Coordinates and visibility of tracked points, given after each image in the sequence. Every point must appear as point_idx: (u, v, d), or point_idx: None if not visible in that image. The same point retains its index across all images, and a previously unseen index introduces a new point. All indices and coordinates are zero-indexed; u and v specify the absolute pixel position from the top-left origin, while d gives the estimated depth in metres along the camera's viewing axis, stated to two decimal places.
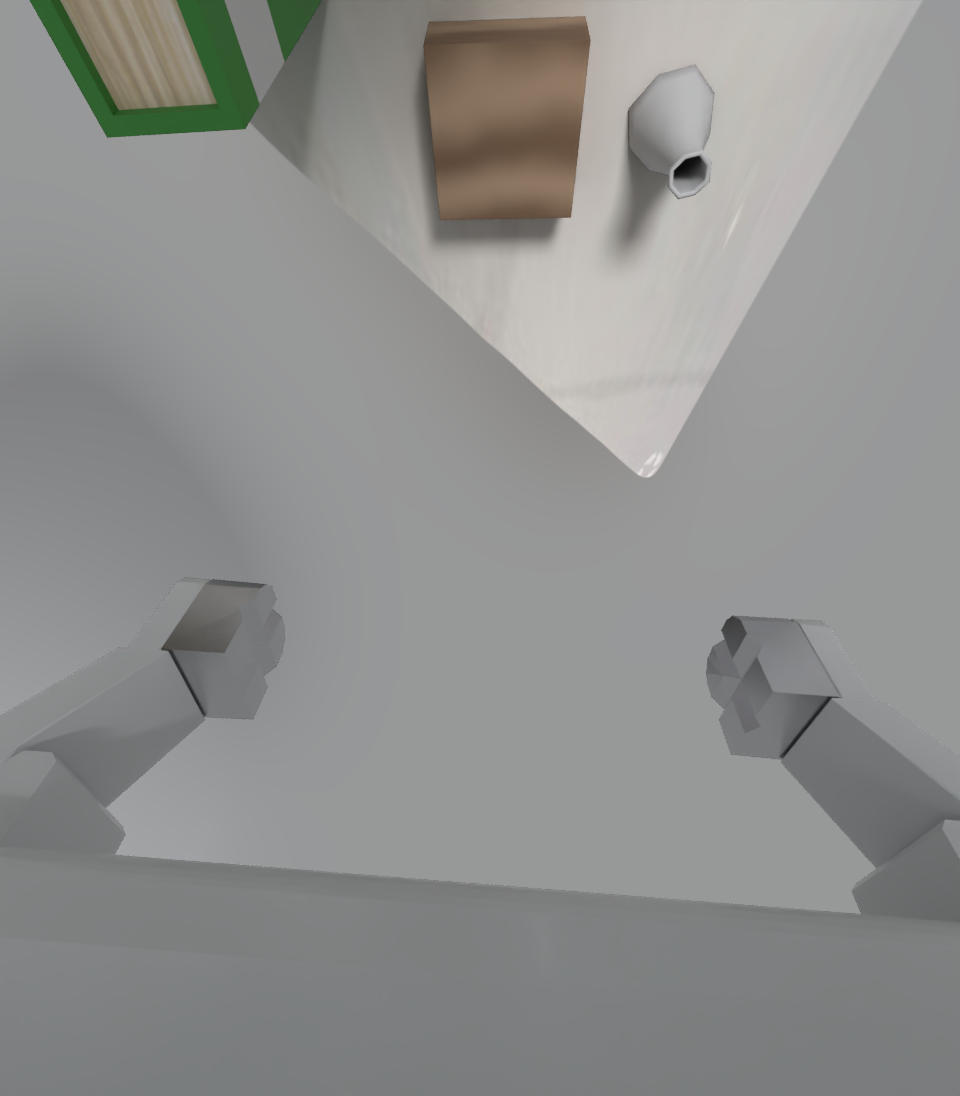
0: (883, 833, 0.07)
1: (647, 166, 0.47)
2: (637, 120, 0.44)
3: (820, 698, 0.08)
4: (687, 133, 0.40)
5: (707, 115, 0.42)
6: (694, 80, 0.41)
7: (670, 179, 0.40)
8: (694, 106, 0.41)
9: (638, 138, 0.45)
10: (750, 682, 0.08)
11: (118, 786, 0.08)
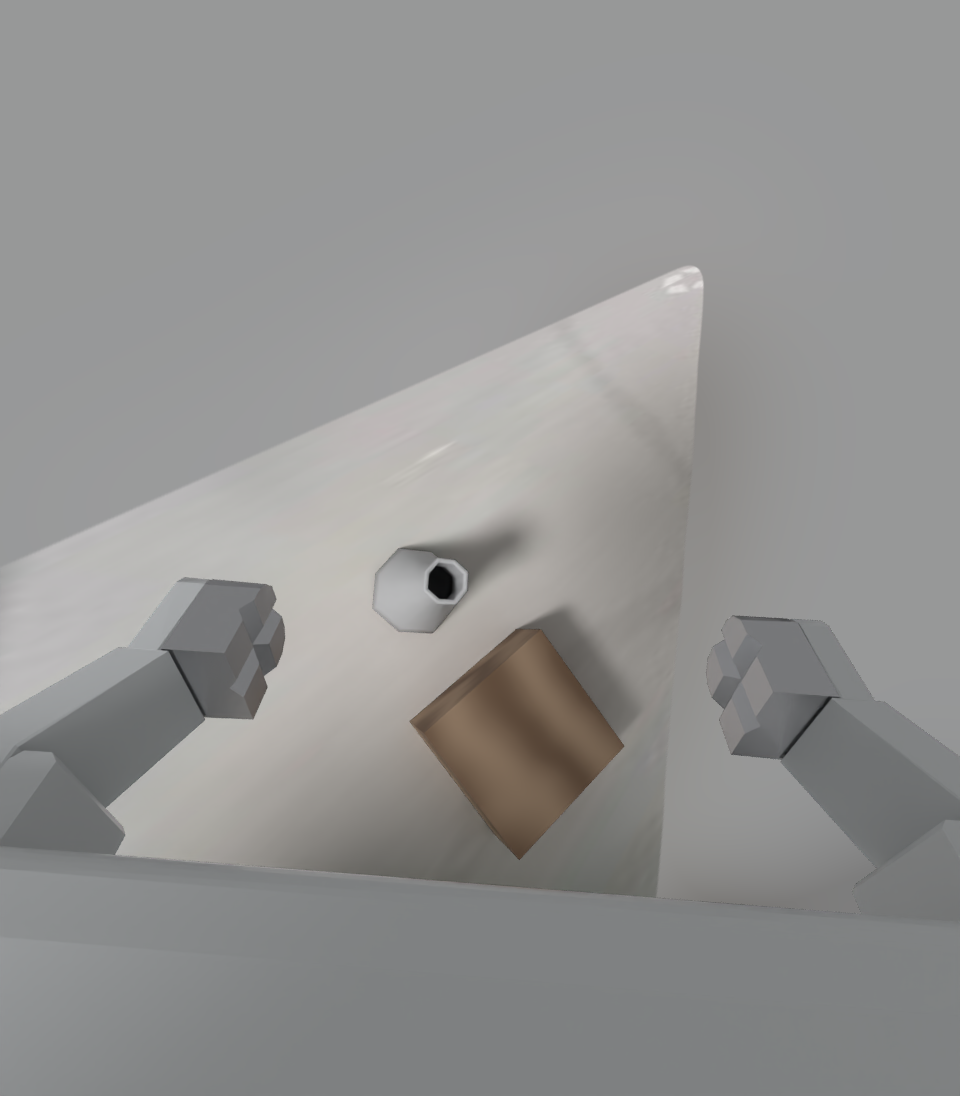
0: (883, 833, 0.07)
1: None
2: (436, 624, 0.42)
3: (820, 698, 0.08)
4: (418, 597, 0.37)
5: (392, 576, 0.40)
6: (381, 604, 0.41)
7: (461, 596, 0.35)
8: (396, 598, 0.39)
9: (445, 612, 0.43)
10: (750, 682, 0.08)
11: (118, 786, 0.08)
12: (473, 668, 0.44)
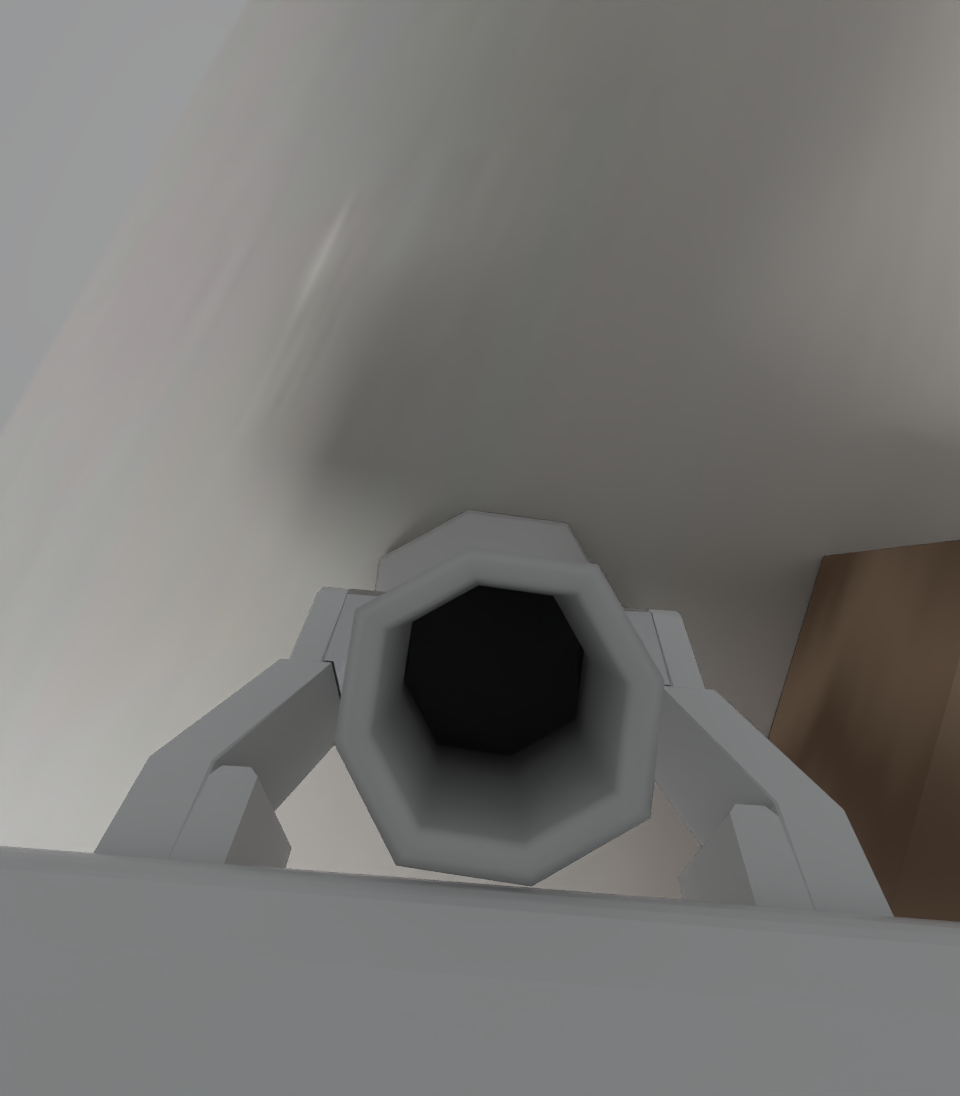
0: (709, 820, 0.07)
1: (576, 546, 0.14)
2: None
3: None
4: None
5: None
6: None
7: (648, 741, 0.05)
8: None
9: None
10: None
11: (277, 798, 0.08)
12: (780, 741, 0.14)
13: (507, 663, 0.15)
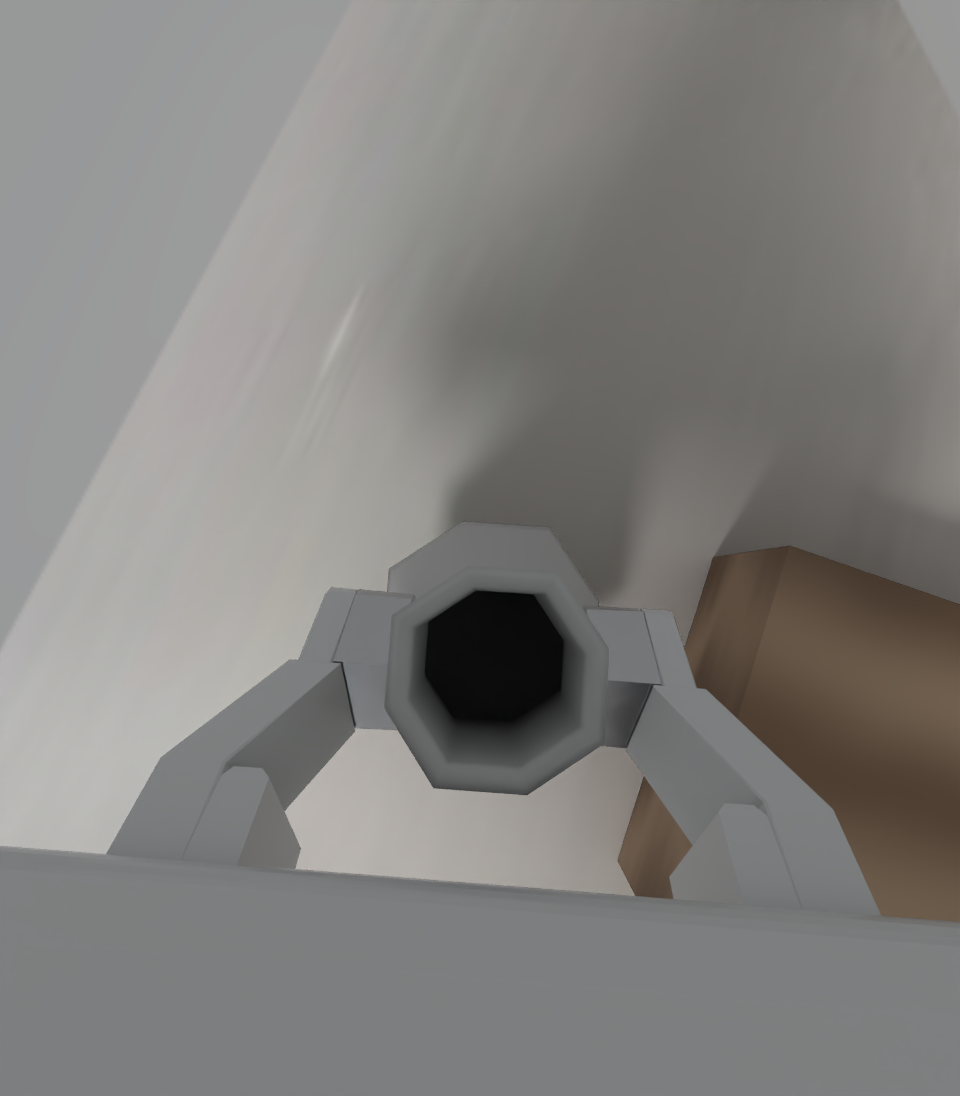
0: (700, 819, 0.07)
1: (558, 547, 0.16)
2: None
3: (644, 685, 0.08)
4: None
5: None
6: None
7: (600, 691, 0.07)
8: None
9: None
10: None
11: (287, 799, 0.08)
12: None
13: (507, 652, 0.17)
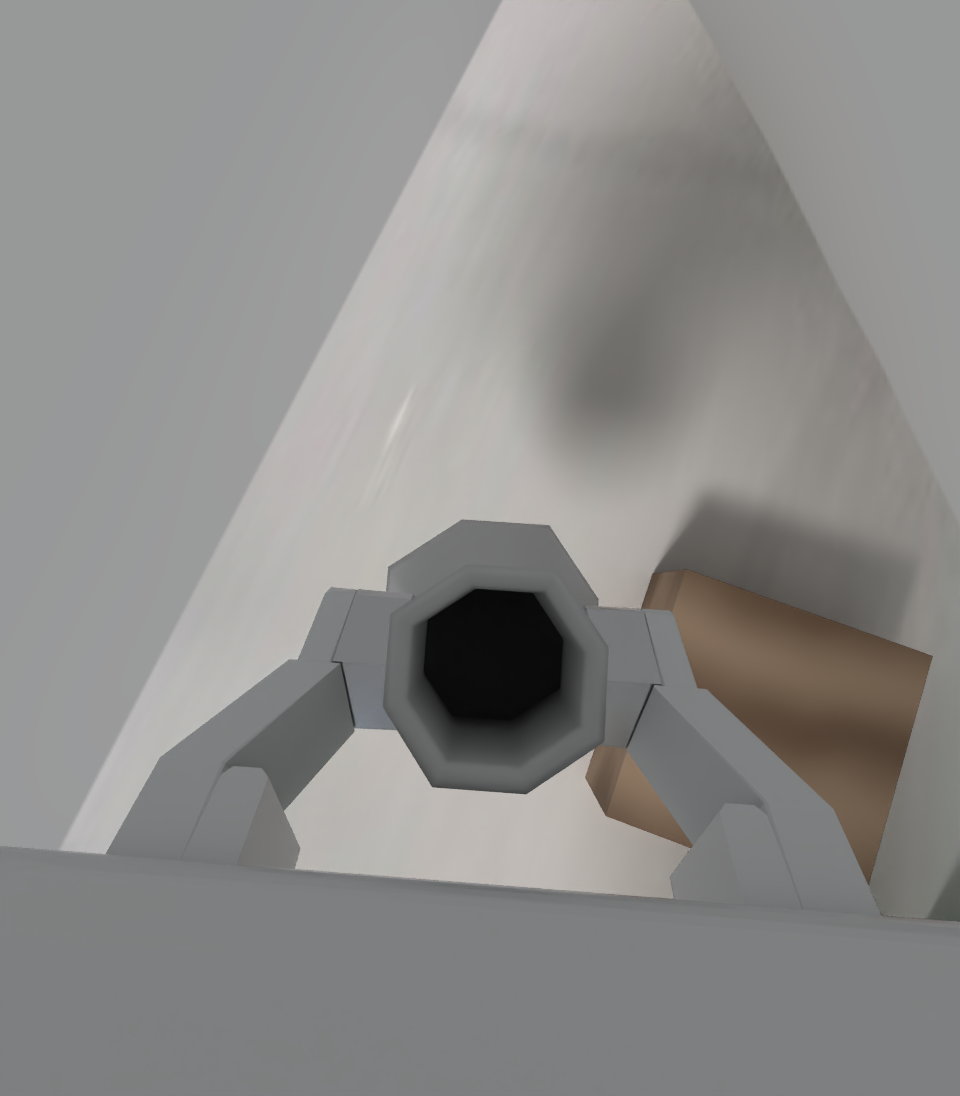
0: (700, 819, 0.07)
1: (557, 545, 0.16)
2: None
3: (645, 685, 0.08)
4: None
5: None
6: None
7: (599, 690, 0.07)
8: None
9: None
10: None
11: (286, 799, 0.08)
12: None
13: (506, 650, 0.17)
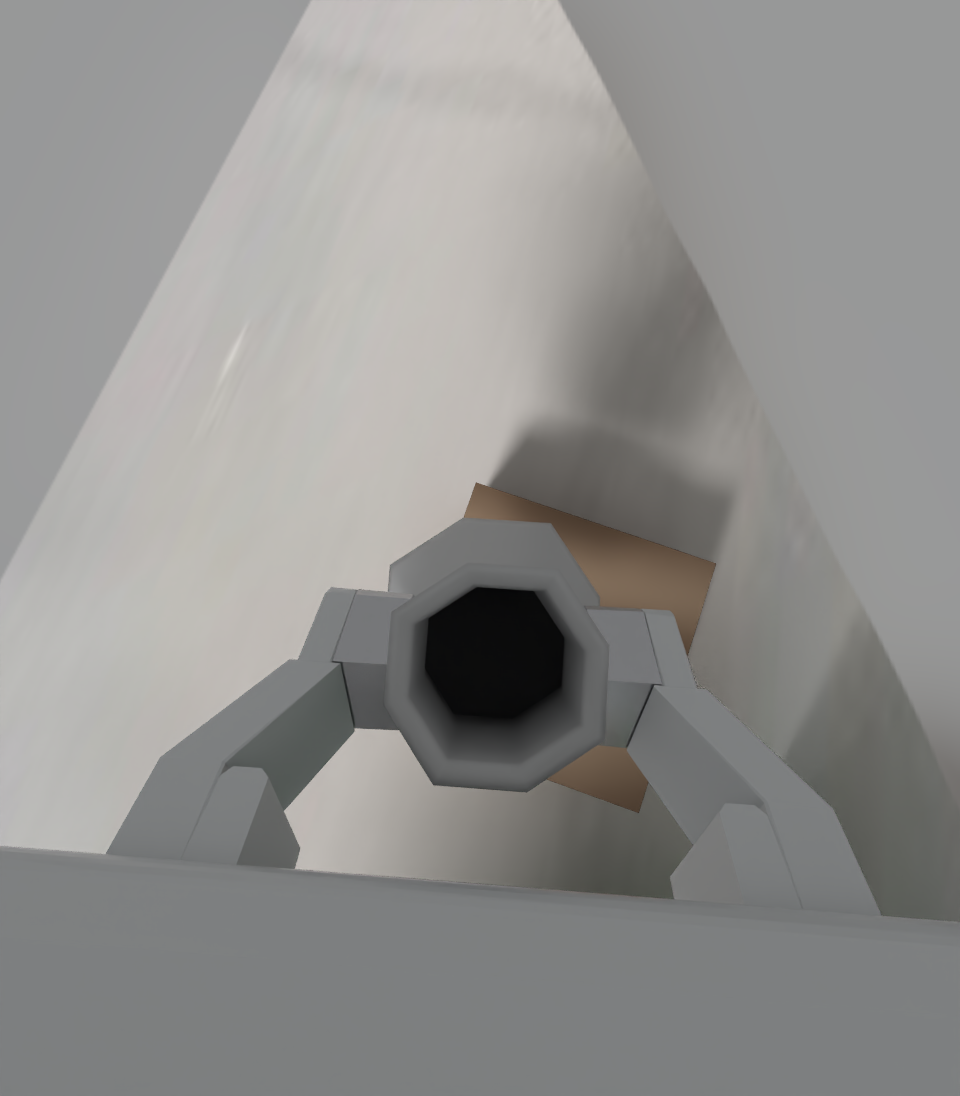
0: (700, 819, 0.07)
1: (559, 543, 0.16)
2: None
3: (645, 685, 0.08)
4: None
5: None
6: None
7: (600, 688, 0.07)
8: None
9: None
10: None
11: (286, 799, 0.08)
12: None
13: (507, 648, 0.17)
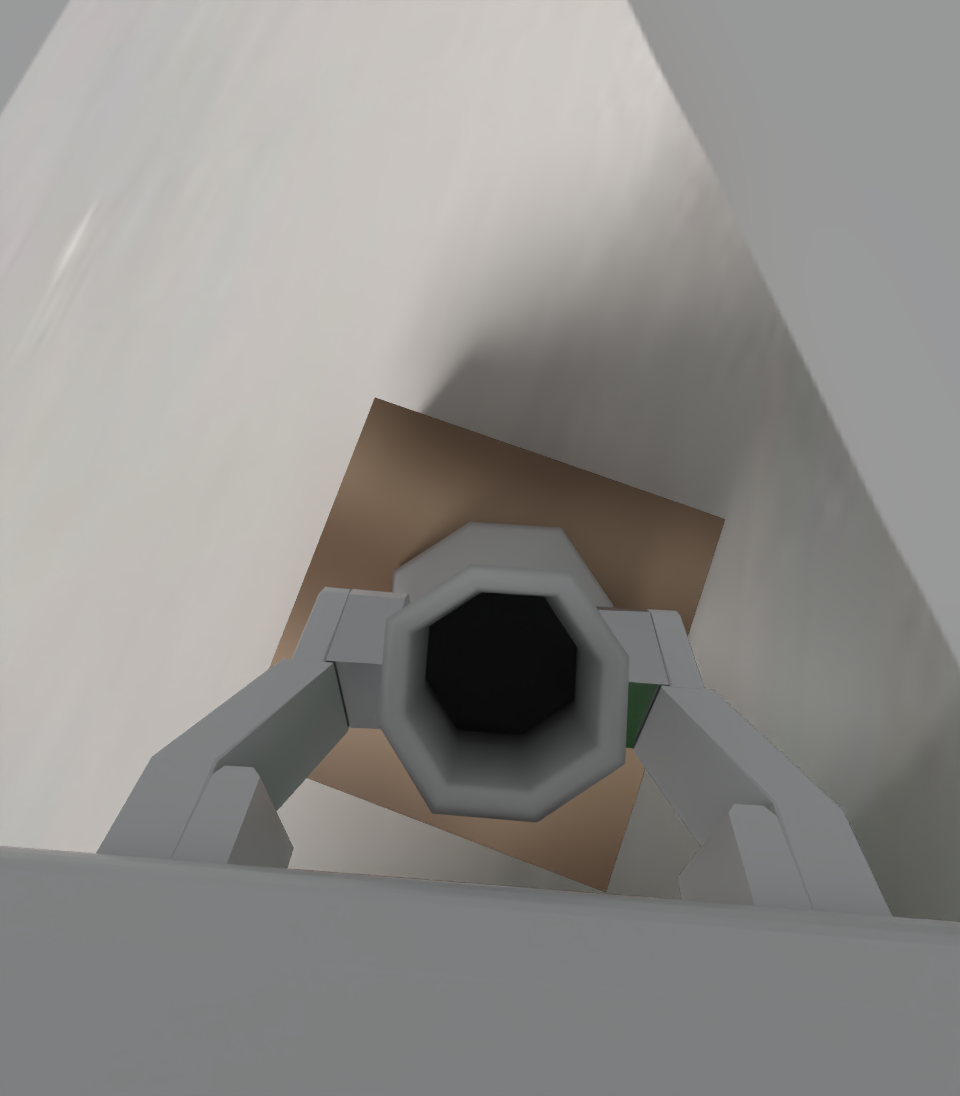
0: (708, 820, 0.07)
1: (570, 548, 0.15)
2: None
3: (652, 686, 0.08)
4: None
5: None
6: None
7: (619, 706, 0.06)
8: None
9: None
10: None
11: (279, 798, 0.08)
12: None
13: (516, 658, 0.16)
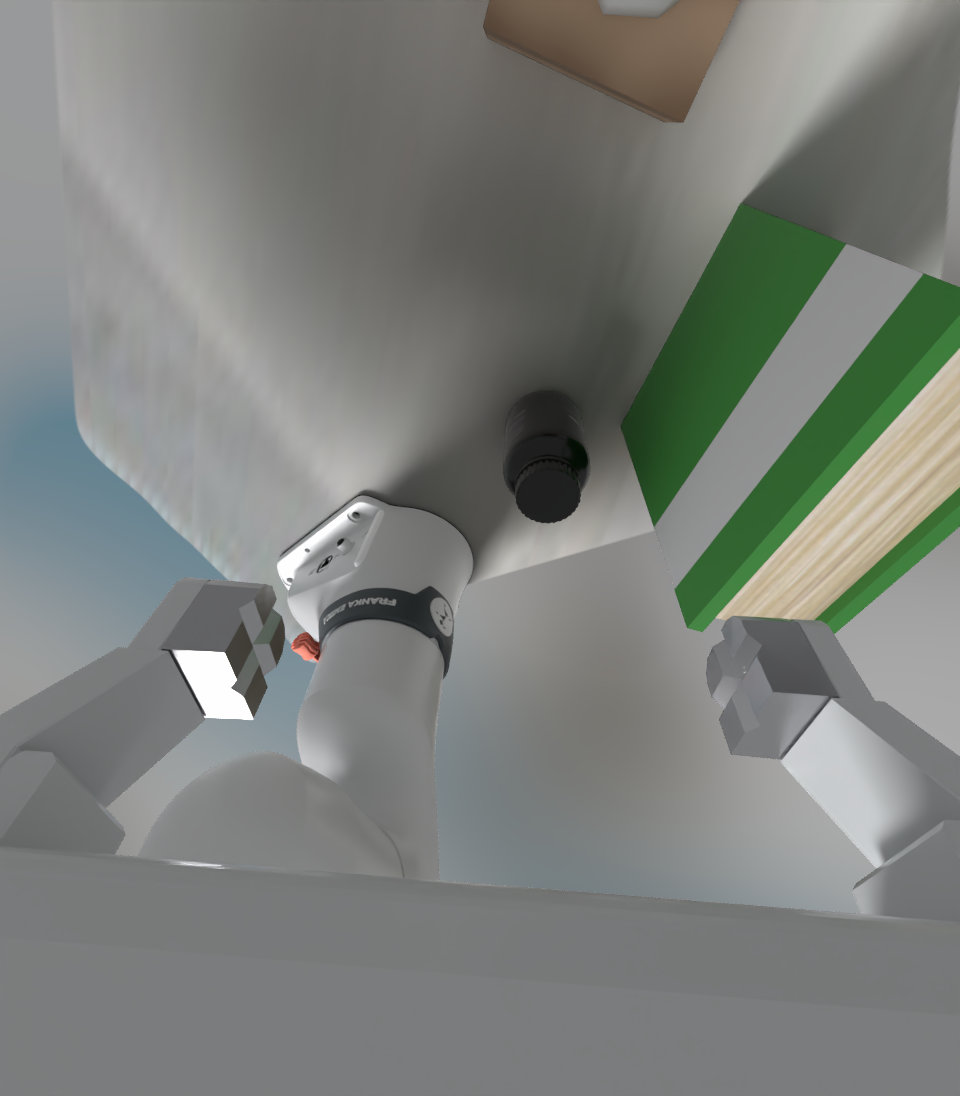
0: (883, 833, 0.07)
1: None
2: None
3: (820, 698, 0.08)
4: None
5: None
6: None
7: None
8: None
9: None
10: (750, 682, 0.08)
11: (118, 786, 0.08)
12: None
13: None
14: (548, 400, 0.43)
